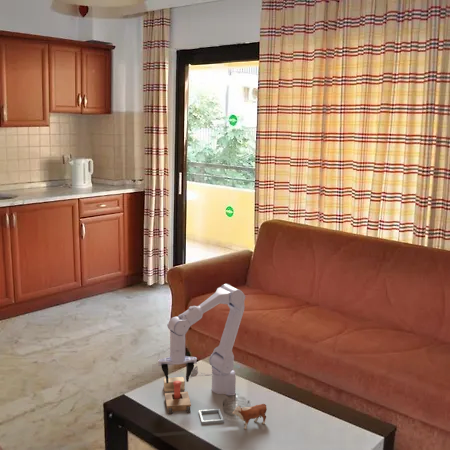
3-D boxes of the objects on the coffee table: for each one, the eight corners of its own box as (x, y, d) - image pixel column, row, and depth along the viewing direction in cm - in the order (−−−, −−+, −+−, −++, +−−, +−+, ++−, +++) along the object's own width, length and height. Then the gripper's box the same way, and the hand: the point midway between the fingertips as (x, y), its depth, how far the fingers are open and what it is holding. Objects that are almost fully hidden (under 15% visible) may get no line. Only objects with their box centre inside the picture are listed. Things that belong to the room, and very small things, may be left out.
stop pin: (180, 399, 217) (180, 380, 215) (181, 403, 214) (181, 384, 212) (172, 399, 216) (172, 380, 214) (173, 404, 213) (173, 384, 211)
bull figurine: (230, 425, 201) (231, 405, 200) (263, 418, 206) (264, 398, 205) (235, 432, 197) (236, 411, 196) (269, 424, 202) (270, 404, 201)
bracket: (211, 383, 233) (211, 376, 232) (190, 379, 237) (190, 371, 236) (217, 377, 239) (217, 369, 238) (196, 372, 243) (196, 365, 242)
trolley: (186, 396, 221) (187, 389, 220) (191, 414, 208) (191, 407, 207) (164, 398, 219) (164, 390, 218) (167, 416, 206) (167, 408, 205)
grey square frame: (219, 413, 209) (219, 408, 209) (223, 425, 201) (223, 420, 201) (198, 415, 207) (198, 410, 207) (201, 426, 200) (201, 421, 199)
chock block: (183, 388, 228) (183, 376, 227) (184, 392, 224) (184, 381, 223) (163, 389, 226) (163, 378, 226) (164, 394, 223) (164, 382, 222)
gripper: (195, 343, 216) (194, 375, 218) (157, 344, 213) (157, 377, 216) (197, 350, 209) (197, 383, 212) (159, 352, 206) (158, 386, 209)
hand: (177, 381), depth 213 cm, fingers open, 7 cm apart
